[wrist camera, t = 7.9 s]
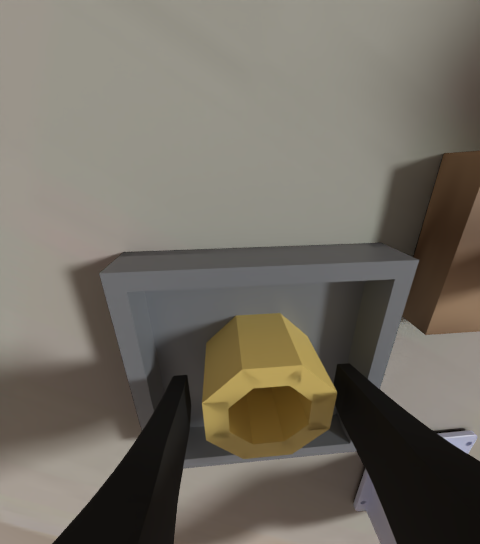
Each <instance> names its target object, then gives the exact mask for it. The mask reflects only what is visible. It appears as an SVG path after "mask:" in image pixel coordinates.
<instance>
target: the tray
mask: <svg viewBox="0 0 480 544" xmlns="http://www.w3.org/2000/svg"><path fill="white" fill-rule="evenodd" d="M418 263H419V260H418V259H416V258H414V257H412V256H409V255H407V254H405V253H403V252H400V251H398V250H396V249H394V248H392V247H389V246H387V245H385V244H383V243H364V244H336V245H309V246H281V247H253V248H226V249H198V250H170V251H143V252H123V253H122V254H121V255H120V256H119V257H118V258H116V259H115V260H114V261H113V262H112V263H111V264H109V265H108V266H107V267H106V268H105V269H104V270H103V271H101V272H100V273H99V274H100V278H101V282H102V286H103V289H104V293H105V297H106V300H107V304H108V308H109V312H110V315H111V319H112V323H113V326H114V330H115V334H116V337H117V341H118V345H119V349H120V352H121V356H122V360H123V363H124V367H125V371H126V374H127V378H128V382H129V386H130V389H131V393H132V397H133V400H134V404H135V408H136V411H137V415H138V419H139V423H140V426H141V430H143V429H144V427H145V426H146V424H147V423H148V421H149V419H150V418H151V416H152V414H153V412H154V411H155V409H156V407H157V406H158V404H159V402H160V400H161V398H162V397H163V395H164V393H165V391H166V389H167V387H168V385H169V383H170V381H171V379H172V377H173V376H177V375H187V376H188V383H189V391H190V398H191V419H190V431H189V437H188V442H187V448H186V454H185V460H184V466H183V468H193V467H203V466H213V465H223V464H233V463H243V462H253V461H263V460H273V459H283V458H293V457H304V456H314V455H324V454H334V453H344V452H354V451H356V449H355V447H354V445H353V443H352V441H351V439H350V437H349V435H348V433H347V431H346V429H345V427H344V425H343V423H342V421H341V419H340V416H339V414H338V411H337V409H336V406H334V411H333V416H332V420H331V425H330V429H329V430H327V431H326V432H324V433H323V434H321V435H320V436H318V437H317V438H315V439H314V440H312V441H311V442H309V443H308V444H306V445H305V446H303V447H302V448H300V449H299V450H298V451H296V452H295V453H293V454H290V455H280V456H270V457H260V458H250V459H242V458H240V457H238V456H236V455H234V454H232V453H230V452H228V451H226V450H224V449H222V448H220V447H218V446H216V445H214V444H212V443H210V442H208V441H206V435H205V426H204V417H203V408H202V396H203V382H204V368H205V355H206V343H207V342H208V341H209V340H210V339H211V338H212V337H213V336H214V335H215V334H217V333H218V332H219V331H220V330H221V329H222V328H223V327H224V326H225V325H226V324H227V323H228V322H230V321H231V320H232V319H233V318H234V317H235V316H236V315H254V314H271V313H281V314H282V315H283V316H284V317H285V318H287V319H288V320H289V321H290V322H291V323H293V324H294V325H295V326H296V327H297V328H298V329H300V330H301V331H302V332H303V333H304V334H305V335H307V336H308V338H309V340H310V342H311V344H312V346H313V347H314V349H315V351H316V353H317V355H318V357H319V359H320V361H321V362H322V364H323V366H324V368H325V370H326V372H327V374H328V376H329V377H330V379H331V381H332V383H334V378H335V373H336V368H337V364H346V363H350V364H351V365H352V366H353V367H354V368H356V369H357V370H358V371H359V372H360V373H361V374H362V375H364V376H365V377H366V378H367V379H368V380H369V381H371V382H372V383H373V384H374V385H375V386H376V387H378V388H379V389H380V386H381V383H382V380H383V377H384V373H385V370H386V367H387V364H388V360H389V357H390V354H391V351H392V347H393V344H394V341H395V337H396V334H397V331H398V328H399V324H400V321H401V318H402V315H403V311H404V308H405V305H406V302H407V298H408V295H409V292H410V289H411V285H412V282H413V279H414V276H415V272H416V269H417V266H418Z"/></svg>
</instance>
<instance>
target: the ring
mask: <svg viewBox="0 0 480 544" xmlns="http://www.w3.org/2000/svg"><path fill="white" fill-rule="evenodd" d="M336 396H337V391H336V389H335V387H334V385H333V383H332V381H331V379H330V377H329V376H328V374H327V372H326V370H325V368H324V366H323V364H322V362H321V361H320V359H319V357H318V355H317V353H316V351H315V349H314V347H313V346H312V344H311V342H310V340H309V338H308V336H307V335H305V334H304V333H303V332H302V331H301V330H300V329H298V328H297V327H296V326H295V325H294V324H293V323H291V322H290V321H289V320H288V319H287V318H285V317H284V316H283V315H282V314H281V313H271V314H254V315H236V316H235V317H234V318H233V319H232V320H231V321H230V322H228V323H227V324H226V325H225V326H224V327H223V328H222V329H221V330H220V331H219V332H218V333H217V334H215V335H214V336H213V337H212V338H211V339H210V340H209V341H208V342H207V343H206V355H205V368H204V382H203V396H202V408H203V417H204V426H205V435H206V441H208V442H210V443H212V444H214V445H216V446H218V447H220V448H222V449H224V450H226V451H228V452H230V453H232V454H234V455H236V456H238V457H240V458H242V459H250V458H260V457H270V456H280V455H290V454H293V453H295V452H296V451H298V450H299V449H300V448H302V447H303V446H305V445H306V444H308V443H309V442H311V441H312V440H314V439H315V438H317V437H318V436H320V435H321V434H323V433H324V432H326V431H327V430H329V429H330V425H331V420H332V416H333V411H334V406H335V401H336Z"/></svg>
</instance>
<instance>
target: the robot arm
mask: <svg viewBox="0 0 480 544" xmlns="http://www.w3.org/2000/svg"><path fill="white" fill-rule="evenodd" d="M333 385H334V387H335V389H336V391H337V396H336V401H335V406H336V409H337V411H338V414H339V416H340V419H341V421H342V423H343V425H344V427H345V429H346V431H347V433H348V435H349V437H350V439H351V441H352V443H353V445H354V447H355V449H356V451H357V453H358V455H359V456H360V458H361V460H362V462H363V464H364V466H365V471H364V474H363V477H362V480H361V483H360V486H359V489H358V492H357V495H356V498H355V501H354V504H353V505H354V508H355V510H356V511H367V513H368V516H369V518H370V520H371V523H372V525H373V527H374V530H375V532H376V534H377V536H378V539H379V541H380V543H381V544H480V461H478V460H477V459H475V458H474V457H472V456H470V455H469V454H468V453H469V451H470V449H471V448H472V446H473V444H474V443H475V441H476V439H477V435H476V434H475V433H474V432H473V431H470V430H468V431H457V432H447V433H435V432H434V431H433V430H431V429H430V428H428V427H427V426H426V425H424V424H423V423H421V422H420V421H419V420H417V419H416V418H415V417H413V416H412V415H411V414H410V413H408V412H407V411H406V410H404V409H403V408H402V407H401V406H399V405H398V404H397V403H396V402H394V401H393V400H392V399H391V398H389V397H388V396H387V395H386V394H385V393H383V392H382V391H381V390H380V389H379V388H378V387H376V386H375V385H374V384H373V383H372V382H371V381H369V380H368V379H367V378H366V377H365V376H364V375H362V374H361V373H360V372H359V371H358V370H357V369H356V368H354V367H353V366H352V365H351V364H350V363H346V364H337V368H336V373H335V378H334V383H333ZM190 419H191V398H190V391H189V383H188V376H187V375H177V376H173V377H172V379H171V381H170V383H169V385H168V387H167V389H166V391H165V393H164V395H163V397H162V398H161V400H160V402H159V404H158V406H157V407H156V409H155V411H154V412H153V414H152V416H151V418H150V419H149V421H148V423H147V424H146V426H145V427H144V429H143V430H142V432H141V433H140V435H139V436H138V438H137V439H136V441H135V443H134V444H133V445H132V447H131V448H130V450H129V451H128V453H127V454H126V455H125V457H124V458H123V460H122V461H121V462H120V464H119V465H118V466H117V468H116V469H115V470H114V472H113V473H112V474H111V475H110V477H109V478H108V479H107V481H106V482H105V483H104V484H103V486H102V487H101V488H100V489H99V491H98V492H97V493H96V494H95V496H94V497H93V498H92V499H91V500H90V502H89V503H88V504H87V505H86V506H85V507H84V509H83V510H82V511H81V512H80V513H79V514H78V515H77V516H76V518H75V519H74V520H73V521H72V522H71V523H70V524H69V526H68V527H67V528H66V529H65V530H64V531H63V532H62V533H61V535H60V536H59V537H58V538H57V539H56V540H55V541H54V542H53V543H52V544H174V533H175V523H176V513H177V503H178V496H179V489H180V483H181V477H182V472H183V466H184V460H185V454H186V448H187V442H188V437H189V431H190Z"/></svg>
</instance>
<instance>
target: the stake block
mask: <svg viewBox="0 0 480 544" xmlns="http://www.w3.org/2000/svg"><path fill="white" fill-rule="evenodd" d="M414 258H416V259H418V260H419V263H418V266H417V269H416V272H415V276H414V279H413V282H412V285H411V289H410V292H409V295H408V298H407V302H406V305H405V308H404V311H403V315H402V316H403V317H404V318H405V319H406V320H408V321H409V322H410V323H411V324H413V325H414V326H415V327H416V328H418V329H419V330H420V331H421V332H423V333H424V334H425V335H430V334H446V333H461V332H476V331H480V151H470V152H456V153H444V155H443V159H442V162H441V165H440V169H439V172H438V176H437V179H436V182H435V186H434V189H433V192H432V196H431V199H430V203H429V206H428V209H427V213H426V216H425V220H424V223H423V226H422V230H421V233H420V237H419V240H418V243H417V247H416V250H415V253H414Z"/></svg>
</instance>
